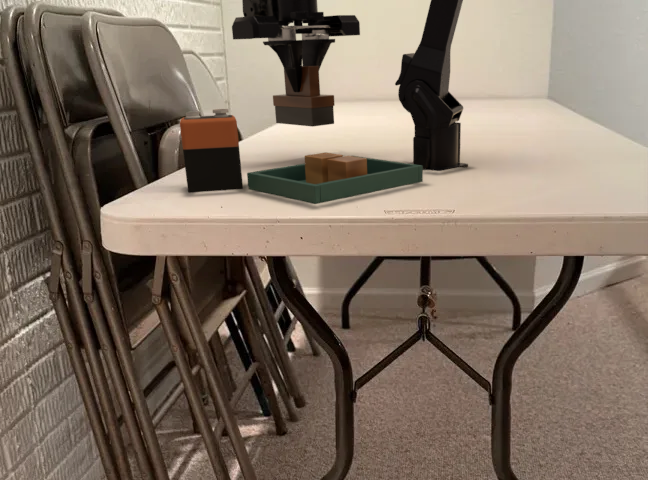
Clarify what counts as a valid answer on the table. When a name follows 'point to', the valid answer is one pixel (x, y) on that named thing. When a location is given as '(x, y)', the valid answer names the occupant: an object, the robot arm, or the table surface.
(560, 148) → the table surface
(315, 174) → the brown wooden cube
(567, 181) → the table surface
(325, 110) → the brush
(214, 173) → the battery
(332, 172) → the crumb
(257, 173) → the tray
